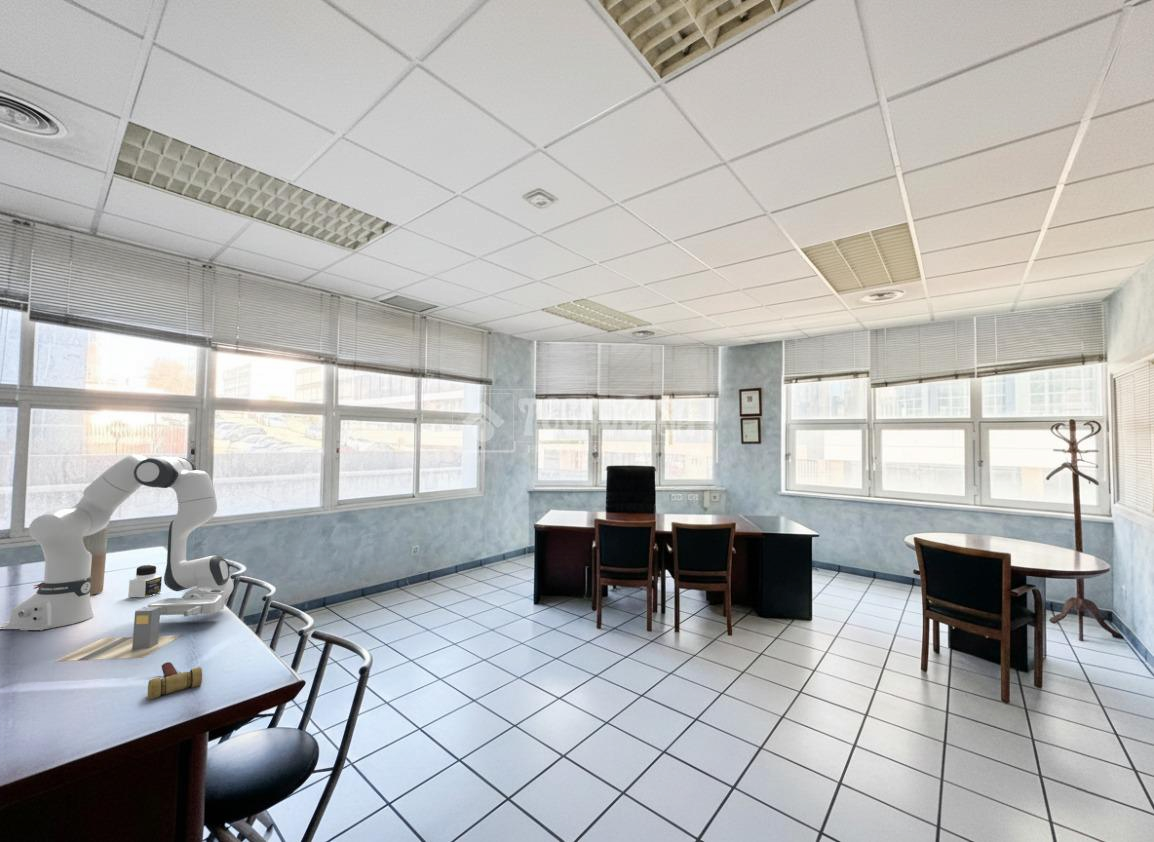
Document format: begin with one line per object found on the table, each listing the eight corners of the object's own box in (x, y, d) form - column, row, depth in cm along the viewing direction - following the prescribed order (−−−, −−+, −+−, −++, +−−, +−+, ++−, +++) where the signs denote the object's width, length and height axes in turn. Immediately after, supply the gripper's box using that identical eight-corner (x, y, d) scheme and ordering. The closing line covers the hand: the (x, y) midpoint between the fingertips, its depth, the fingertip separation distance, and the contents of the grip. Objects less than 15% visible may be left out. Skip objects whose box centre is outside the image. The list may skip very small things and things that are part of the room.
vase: (83, 590, 195) (89, 523, 196) (109, 590, 196) (115, 523, 197) (60, 598, 185) (66, 527, 187) (87, 597, 186) (93, 527, 188)
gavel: (140, 661, 127) (188, 650, 134) (139, 679, 126) (187, 667, 133) (150, 682, 113) (202, 669, 120) (149, 702, 112) (201, 687, 120)
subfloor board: (53, 666, 128) (53, 661, 129) (102, 643, 144) (102, 638, 144) (143, 662, 132) (143, 657, 132) (181, 639, 148) (182, 635, 148)
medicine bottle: (145, 598, 186) (147, 568, 187) (127, 598, 187) (129, 567, 187) (161, 592, 194) (163, 563, 194) (144, 592, 194) (146, 563, 194)
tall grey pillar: (131, 649, 137) (134, 611, 137) (141, 644, 140) (144, 607, 141) (148, 648, 137) (151, 610, 138) (157, 643, 141) (160, 606, 142)
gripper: (164, 592, 161) (133, 605, 148) (229, 590, 164) (205, 603, 151) (163, 610, 161) (132, 625, 147) (228, 608, 164) (203, 623, 150)
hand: (169, 614), depth 149 cm, fingers open, 8 cm apart
